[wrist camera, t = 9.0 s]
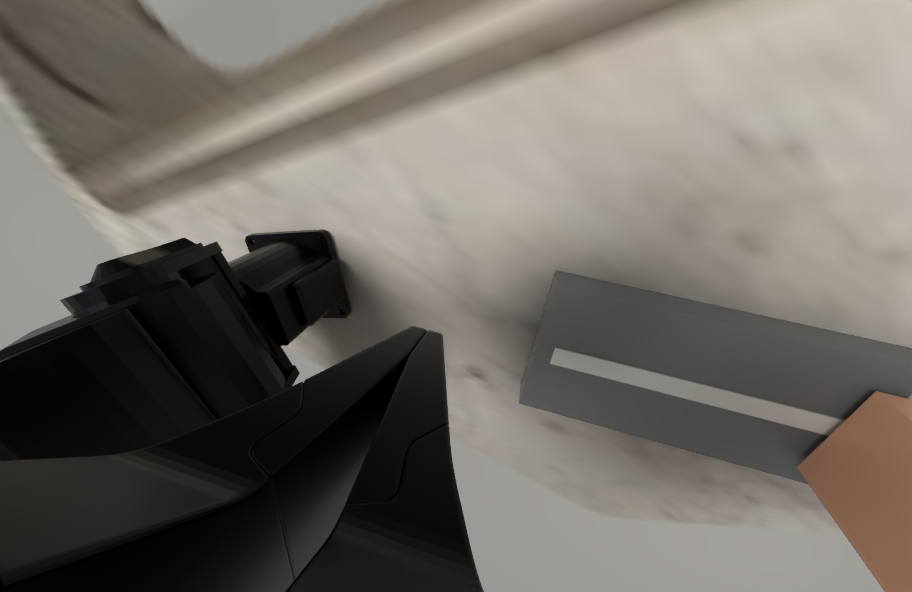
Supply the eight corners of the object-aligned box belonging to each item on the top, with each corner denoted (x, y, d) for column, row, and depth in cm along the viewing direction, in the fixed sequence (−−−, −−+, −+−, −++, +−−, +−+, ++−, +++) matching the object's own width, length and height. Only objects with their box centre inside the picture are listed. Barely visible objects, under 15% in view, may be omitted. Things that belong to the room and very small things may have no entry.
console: (520, 382, 24) (518, 404, 22) (556, 270, 20) (556, 286, 18) (869, 477, 21) (899, 510, 19) (1003, 368, 17) (1059, 399, 15)
